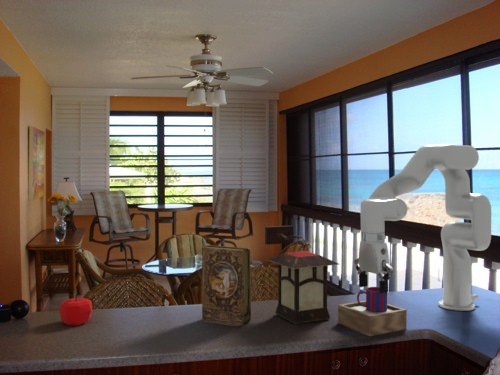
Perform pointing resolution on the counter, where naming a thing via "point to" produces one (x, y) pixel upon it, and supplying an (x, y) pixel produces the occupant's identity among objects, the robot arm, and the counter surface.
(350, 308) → the tray
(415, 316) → the counter surface
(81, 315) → the apple
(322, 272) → the lantern
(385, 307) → the mug
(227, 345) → the counter surface
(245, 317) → the book
